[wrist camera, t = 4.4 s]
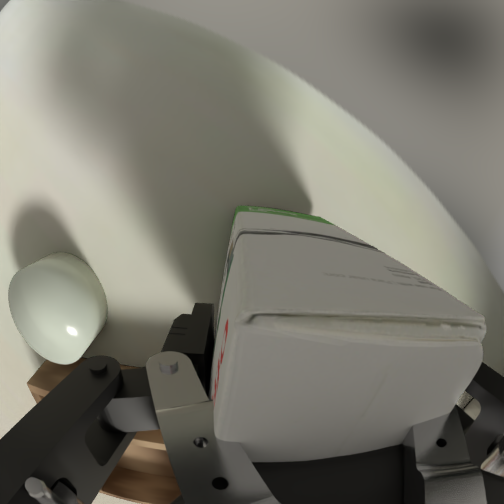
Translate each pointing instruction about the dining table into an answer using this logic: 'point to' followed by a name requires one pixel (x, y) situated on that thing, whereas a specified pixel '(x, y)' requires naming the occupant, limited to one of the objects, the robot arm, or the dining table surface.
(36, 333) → the white domed round part
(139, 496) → the organizer
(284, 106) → the dining table surface
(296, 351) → the ink box
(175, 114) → the dining table surface
